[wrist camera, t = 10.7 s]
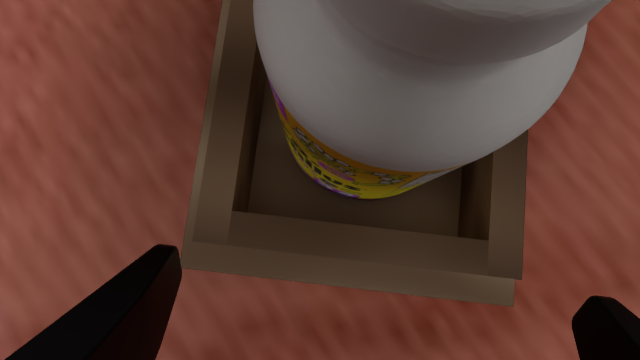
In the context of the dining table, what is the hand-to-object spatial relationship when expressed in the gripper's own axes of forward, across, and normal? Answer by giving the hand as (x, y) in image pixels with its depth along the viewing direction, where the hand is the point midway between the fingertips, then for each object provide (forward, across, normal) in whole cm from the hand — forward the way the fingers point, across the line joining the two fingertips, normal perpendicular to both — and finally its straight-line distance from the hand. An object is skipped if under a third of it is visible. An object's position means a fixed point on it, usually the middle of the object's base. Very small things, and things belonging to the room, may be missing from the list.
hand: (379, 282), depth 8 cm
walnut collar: (+10, 0, +2) cm, 10 cm away
